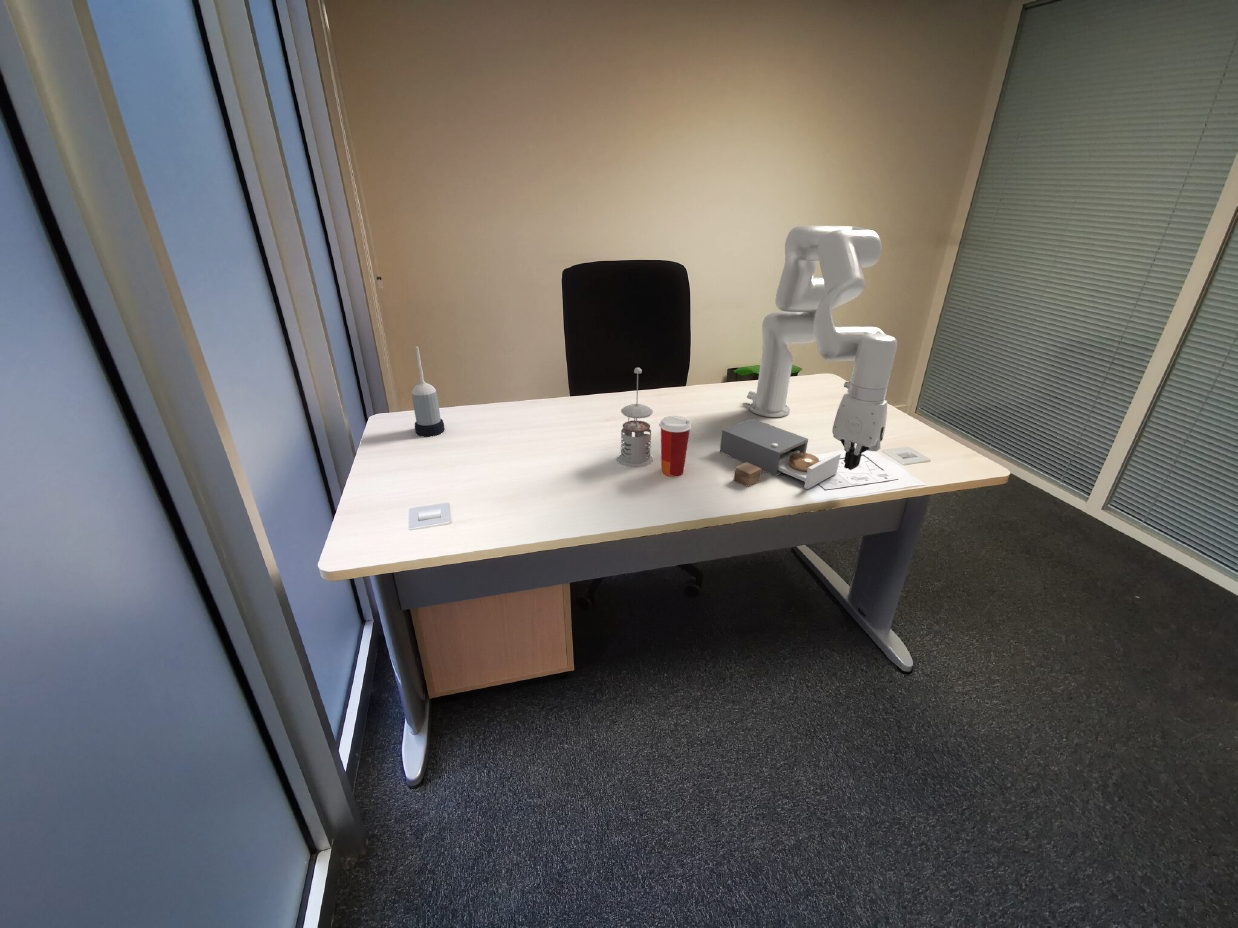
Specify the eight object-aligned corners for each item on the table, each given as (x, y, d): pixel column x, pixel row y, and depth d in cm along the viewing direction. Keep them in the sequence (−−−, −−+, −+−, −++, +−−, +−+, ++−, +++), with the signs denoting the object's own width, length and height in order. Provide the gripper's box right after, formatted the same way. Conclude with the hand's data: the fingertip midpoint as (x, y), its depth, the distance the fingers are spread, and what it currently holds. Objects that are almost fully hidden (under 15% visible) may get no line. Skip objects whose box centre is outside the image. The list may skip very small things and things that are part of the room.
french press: (620, 468, 138) (621, 374, 127) (613, 449, 148) (614, 360, 137) (657, 466, 140) (662, 373, 128) (648, 447, 150) (651, 359, 138)
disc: (810, 474, 132) (811, 467, 131) (783, 466, 136) (784, 459, 135) (822, 464, 136) (823, 457, 135) (796, 457, 140) (797, 450, 140)
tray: (746, 462, 141) (749, 443, 139) (776, 448, 149) (778, 431, 147) (807, 489, 129) (811, 469, 127) (836, 472, 137) (840, 453, 134)
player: (719, 451, 148) (722, 428, 145) (749, 439, 155) (752, 417, 152) (775, 475, 136) (779, 451, 132) (804, 461, 143) (808, 437, 140)
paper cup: (690, 467, 139) (694, 417, 133) (683, 481, 133) (687, 428, 126) (661, 462, 141) (663, 413, 135) (653, 475, 135) (655, 424, 129)
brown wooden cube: (733, 479, 134) (735, 467, 132) (745, 474, 136) (746, 462, 135) (748, 486, 130) (750, 474, 129) (759, 481, 133) (761, 468, 131)
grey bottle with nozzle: (444, 424, 163) (431, 342, 151) (445, 435, 156) (432, 349, 145) (415, 427, 161) (401, 344, 149) (415, 438, 154) (400, 352, 142)
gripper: (826, 387, 121) (813, 461, 129) (893, 404, 110) (873, 483, 118) (844, 381, 125) (829, 452, 133) (909, 397, 115) (889, 474, 123)
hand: (850, 467), depth 126 cm, fingers closed
